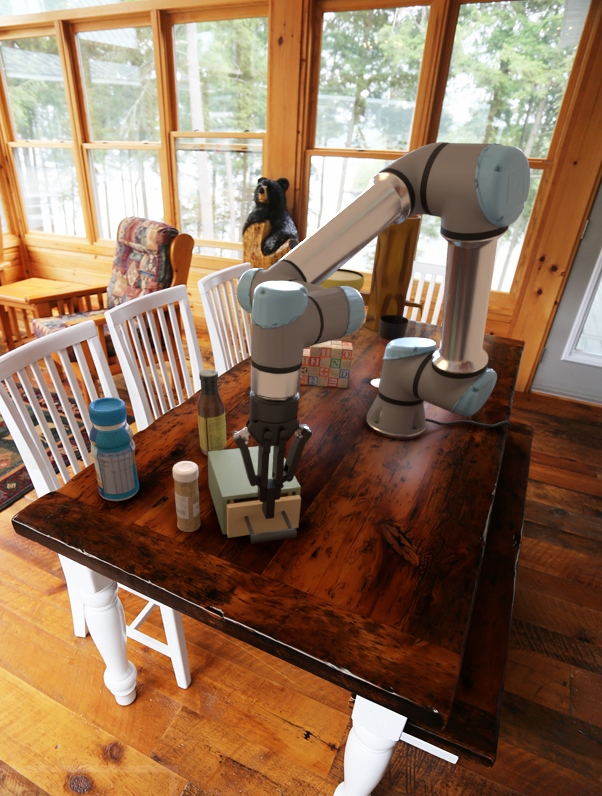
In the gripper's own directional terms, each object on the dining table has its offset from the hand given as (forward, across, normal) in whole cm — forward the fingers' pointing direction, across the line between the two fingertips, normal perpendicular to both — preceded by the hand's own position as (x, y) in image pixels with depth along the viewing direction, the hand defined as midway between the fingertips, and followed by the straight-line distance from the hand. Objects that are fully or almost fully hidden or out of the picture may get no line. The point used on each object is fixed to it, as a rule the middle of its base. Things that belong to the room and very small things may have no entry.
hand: (267, 513), depth 89 cm
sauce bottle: (+8, +4, -34) cm, 36 cm away
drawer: (+6, 0, -6) cm, 9 cm away
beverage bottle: (+8, +26, -23) cm, 35 cm away
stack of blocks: (+7, -33, -69) cm, 77 cm away
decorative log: (+7, -79, -116) cm, 140 cm away
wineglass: (+7, -54, -63) cm, 84 cm away
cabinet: (+7, 0, -12) cm, 15 cm away
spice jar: (+8, +13, -9) cm, 17 cm away
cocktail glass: (+7, -50, -97) cm, 109 cm away
